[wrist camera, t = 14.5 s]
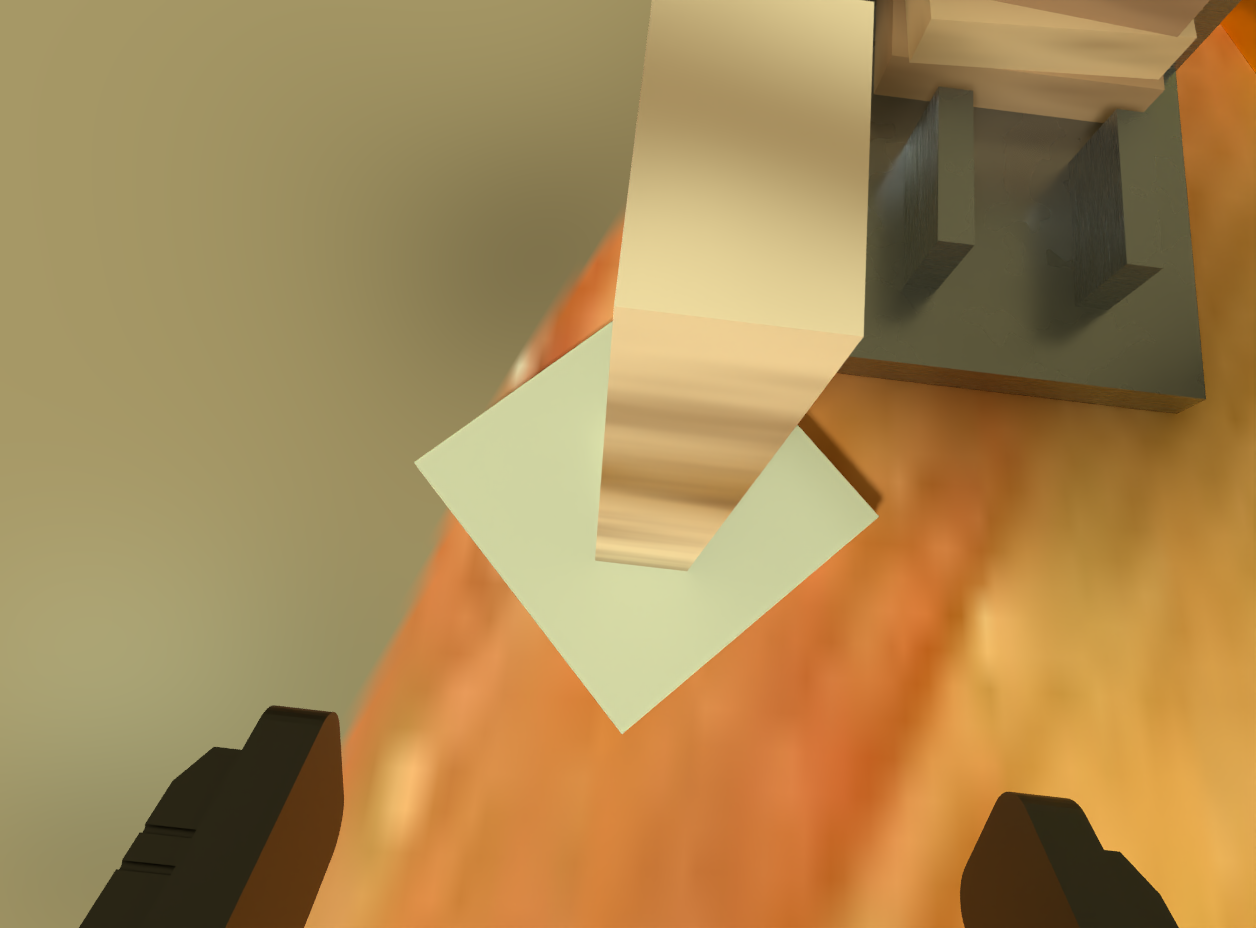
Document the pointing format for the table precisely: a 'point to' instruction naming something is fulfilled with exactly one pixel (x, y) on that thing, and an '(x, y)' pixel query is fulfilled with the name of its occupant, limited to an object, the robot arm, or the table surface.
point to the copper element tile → (1243, 29)
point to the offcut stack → (1033, 52)
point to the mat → (620, 593)
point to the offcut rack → (1033, 250)
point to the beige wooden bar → (732, 259)
